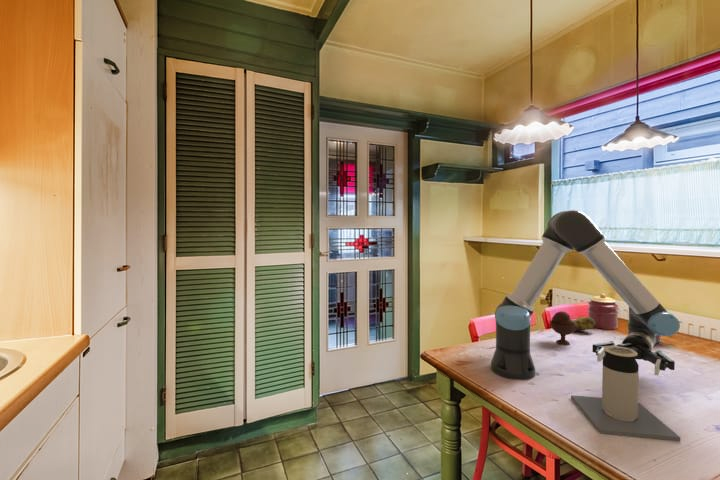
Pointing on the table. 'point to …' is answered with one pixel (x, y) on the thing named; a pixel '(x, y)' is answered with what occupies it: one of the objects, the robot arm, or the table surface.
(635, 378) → the travel mug
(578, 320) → the potato
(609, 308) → the canister
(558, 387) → the table surface
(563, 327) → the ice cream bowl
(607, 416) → the mat
